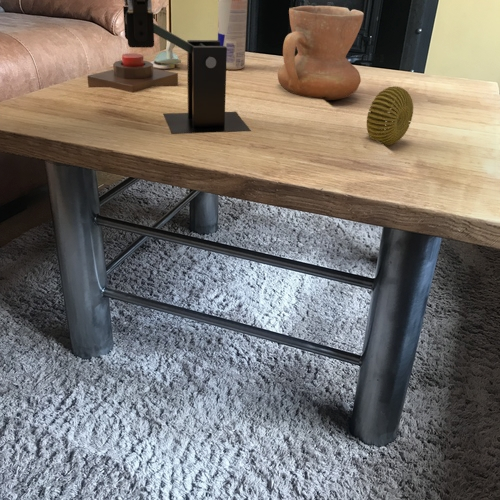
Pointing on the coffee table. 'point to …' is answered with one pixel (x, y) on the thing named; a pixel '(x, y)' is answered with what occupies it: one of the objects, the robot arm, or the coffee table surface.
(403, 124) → the sculpture
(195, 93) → the switch bracket
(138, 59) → the button
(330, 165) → the coffee table surface
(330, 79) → the ceramic jug
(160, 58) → the pacifier
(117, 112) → the coffee table surface
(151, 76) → the button block
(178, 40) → the switch lever
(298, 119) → the coffee table surface
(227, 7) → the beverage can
